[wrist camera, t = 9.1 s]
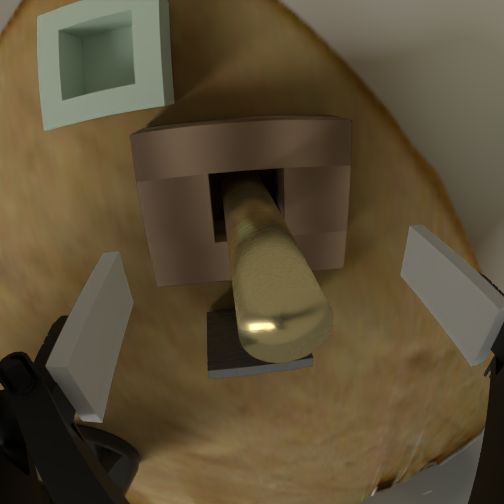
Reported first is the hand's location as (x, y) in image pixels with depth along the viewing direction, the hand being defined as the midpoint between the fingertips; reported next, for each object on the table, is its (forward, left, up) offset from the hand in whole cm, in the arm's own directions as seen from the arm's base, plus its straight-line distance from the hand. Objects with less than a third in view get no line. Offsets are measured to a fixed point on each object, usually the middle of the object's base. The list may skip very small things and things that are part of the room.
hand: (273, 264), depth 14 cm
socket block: (0, 0, -12) cm, 12 cm away
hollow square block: (-9, +11, -12) cm, 18 cm away
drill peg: (0, 0, -12) cm, 12 cm away
